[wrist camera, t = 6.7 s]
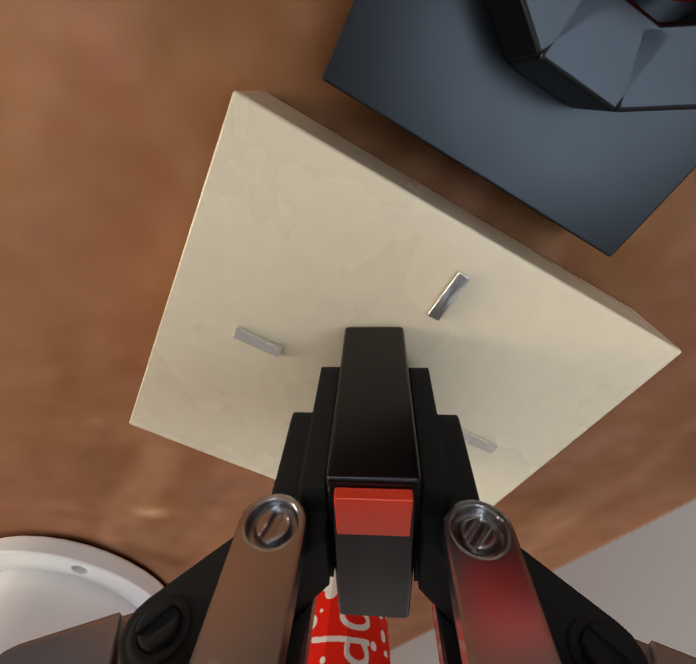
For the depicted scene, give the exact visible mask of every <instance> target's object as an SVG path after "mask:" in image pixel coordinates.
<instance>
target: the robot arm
mask: <svg viewBox="0 0 696 664" xmlns="http://www.w3.org/2000/svg"><path fill="white" fill-rule="evenodd" d="M408 370H409V378H410V387H411V395H412V404H413V412H414V421H415V429H416V438H417V446H418V455H419V463H420V471H421V490H420V501H419V512H418V522H417V533H416V544H415V555H414V565H413V569H414V581H418V585H419V589H420V590H421V591H422V592H423V593H424V594H425V595H426V596H427V597H428V598H429V599H430V600H431V601H432V611H433V619H434V626H435V633H436V639H437V647H438V654H439V661H440V664H696V658H695V657H692V656H690V655H687V654H685V653H682V652H680V651H677V650H675V649H672V648H669V647H667V646H664V645H662V644H659V643H657V642H654V641H651V642H650V643H649V644H646V643H643V642H640V641H638V640H636V639H634V638H633V636H632V635H631V634H630V633H629V632H628V631H627V630H626V629H624V628H623V627H622V626H621V625H620V624H619V623H618V622H616V621H615V620H614V619H613V618H611V617H610V616H609V615H607V614H606V613H605V612H603V611H602V610H601V609H599V608H598V607H597V606H596V605H594V604H593V603H592V602H591V601H589V600H588V599H587V598H585V597H584V596H583V595H581V594H580V593H579V592H577V591H576V590H575V589H574V588H572V587H571V586H570V585H568V584H567V583H566V582H564V581H563V580H562V579H561V578H559V577H558V576H557V575H555V574H554V573H553V572H551V571H550V570H549V569H548V568H546V567H545V566H544V565H542V564H541V563H540V562H538V561H537V560H536V559H535V558H533V557H532V556H531V555H529V554H528V553H527V552H525V551H524V550H523V549H521V548H520V545H519V542H518V539H517V536H516V533H515V531H514V529H513V527H512V525H511V523H510V521H509V520H508V518H507V517H506V516H505V515H504V514H503V513H502V512H501V511H500V510H498V509H497V508H495V507H494V506H492V505H491V504H488V503H485V502H483V501H480V499H479V495H478V491H477V487H476V483H475V479H474V475H473V471H472V468H471V464H470V460H469V456H468V452H467V448H466V444H465V440H464V436H463V432H462V428H461V424H460V421H459V418H458V416H457V415H439V414H437V410H436V405H435V400H434V395H433V389H432V384H431V379H430V373H429V369H428V368H408ZM339 373H340V367H322V368H321V372H320V377H319V382H318V388H317V393H316V398H315V403H314V408H313V412H294V413H293V415H292V418H291V421H290V425H289V429H288V433H287V437H286V441H285V445H284V449H283V453H282V457H281V461H280V464H279V468H278V472H277V476H276V480H275V484H274V488H273V492H272V494H270V495H267V496H264V497H261V498H259V499H258V500H256V501H255V502H253V503H252V504H251V505H250V506H249V507H248V508H247V509H246V510H245V511H244V513H243V515H242V517H241V519H240V521H239V524H238V526H237V529H236V532H235V535H234V537H233V538H232V539H230V540H229V541H227V542H226V543H225V544H223V545H222V546H221V547H219V548H218V549H216V550H215V551H214V552H212V553H211V554H209V555H208V556H207V557H205V558H204V559H203V560H201V561H200V562H198V563H197V564H196V565H194V566H193V567H191V568H190V569H189V570H187V571H186V572H185V573H183V574H182V575H180V576H179V577H178V578H176V579H175V580H173V581H172V582H171V583H169V584H168V585H167V586H165V587H164V586H163V585H162V584H161V583H160V582H159V581H158V580H157V579H156V578H155V577H153V576H152V575H151V574H149V573H148V572H147V571H145V570H144V569H142V568H140V567H139V566H137V565H135V564H133V563H132V562H130V561H128V560H126V559H124V558H122V557H119V556H117V555H115V554H113V553H110V552H108V551H105V550H102V549H99V548H96V547H93V546H90V545H87V544H83V543H79V542H75V541H71V540H67V539H60V538H54V537H47V536H28V535H22V536H11V537H4V538H0V664H307V663H308V656H309V649H310V642H311V636H312V629H313V622H314V615H315V608H316V601H317V596H318V595H319V594H320V593H321V592H322V591H323V590H324V589H325V588H326V587H327V586H328V585H329V584H330V577H334V569H335V563H334V553H333V542H332V532H331V522H330V511H329V501H328V491H327V481H326V475H327V467H328V459H329V451H330V443H331V436H332V428H333V420H334V412H335V404H336V396H337V389H338V381H339Z"/></svg>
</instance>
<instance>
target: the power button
mask: <svg viewBox="0 0 696 664" xmlns="http://www.w3.org/2000/svg"><path fill="white" fill-rule="evenodd" d="M672 1H677V2H694V1H696V0H672Z"/></svg>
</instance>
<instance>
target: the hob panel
mask: <svg viewBox="0 0 696 664" xmlns="http://www.w3.org/2000/svg"><path fill="white" fill-rule="evenodd" d="M347 327H402V328H403V330H404V336H405V345H406V353H407V362H408V368H428V369H429V373H430V379H431V384H432V389H433V395H434V400H435V405H436V410H437V414H439V415H457V416H458V418H459V421H460V424H461V428H462V432H463V436H464V440H465V444H466V448H467V452H468V456H469V460H470V464H471V468H472V471H473V475H474V479H475V483H476V487H477V491H478V495H479V499H480V501H483V502H485V503H488V504H491V505H492V506H494V505H495V504H496V503H498V502H499V501H500V500H501V499H502V498H504V497H505V496H506V495H507V494H509V493H510V492H511V491H512V490H514V489H515V488H516V487H517V486H518V485H520V484H521V483H522V482H523V481H525V480H526V479H527V478H528V477H530V476H531V475H532V474H533V473H534V472H536V471H537V470H538V469H539V468H541V467H542V466H543V465H544V464H545V463H547V462H548V461H549V460H550V459H552V458H553V457H554V456H555V455H557V454H558V453H559V452H560V451H561V450H563V449H564V448H565V447H566V446H568V445H569V444H570V443H571V442H573V441H574V440H575V439H576V438H577V437H579V436H580V435H581V434H582V433H584V432H585V431H586V430H587V429H588V428H590V427H591V426H592V425H593V424H595V423H596V422H597V421H598V420H600V419H601V418H602V417H603V416H604V415H606V414H607V413H608V412H609V411H611V410H612V409H613V408H614V407H616V406H617V405H618V404H619V403H620V402H622V401H623V400H624V399H625V398H627V397H628V396H629V395H630V394H631V393H633V392H634V391H635V390H636V389H638V388H639V387H640V386H641V385H643V384H644V383H645V382H646V381H647V380H649V379H650V378H651V377H652V376H654V375H655V374H656V373H657V372H659V371H660V370H661V369H662V368H663V367H665V366H666V365H667V364H668V363H670V362H671V361H672V360H673V359H674V358H676V357H677V356H678V355H679V354H681V350H680V349H679V348H678V347H676V346H675V345H674V344H673V343H672V342H671V341H669V340H668V339H667V338H666V337H665V336H663V335H662V334H661V333H660V332H659V331H658V330H656V329H655V328H654V327H653V326H652V325H651V324H649V323H648V322H647V321H646V320H645V319H643V318H642V317H641V316H640V315H639V314H638V313H636V312H635V311H634V310H633V309H631V308H630V307H628V306H626V305H625V304H623V303H621V302H620V301H618V300H616V299H615V298H613V297H611V296H609V295H608V294H606V293H604V292H603V291H601V290H599V289H598V288H596V287H594V286H593V285H591V284H589V283H588V282H586V281H584V280H582V279H581V278H579V277H577V276H576V275H574V274H572V273H571V272H569V271H567V270H566V269H564V268H562V267H561V266H559V265H557V264H555V263H554V262H552V261H550V260H549V259H547V258H545V257H544V256H542V255H540V254H539V253H537V252H535V251H534V250H532V249H530V248H528V247H527V246H525V245H523V244H522V243H520V242H518V241H517V240H515V239H513V238H512V237H510V236H508V235H507V234H505V233H503V232H501V231H500V230H498V229H496V228H495V227H493V226H491V225H490V224H488V223H486V222H485V221H483V220H481V219H480V218H478V217H476V216H474V215H473V214H471V213H469V212H468V211H466V210H464V209H463V208H461V207H459V206H458V205H456V204H454V203H453V202H451V201H449V200H447V199H446V198H444V197H442V196H441V195H439V194H437V193H436V192H434V191H432V190H431V189H429V188H427V187H426V186H424V185H422V184H420V183H419V182H417V181H415V180H414V179H412V178H410V177H409V176H407V175H405V174H404V173H402V172H400V171H399V170H397V169H395V168H393V167H392V166H390V165H388V164H387V163H385V162H383V161H382V160H380V159H378V158H377V157H375V156H373V155H372V154H370V153H368V152H366V151H365V150H363V149H361V148H360V147H358V146H356V145H355V144H353V143H351V142H350V141H348V140H346V139H345V138H343V137H341V136H339V135H338V134H336V133H334V132H333V131H331V130H329V129H328V128H326V127H324V126H323V125H321V124H319V123H318V122H316V121H314V120H312V119H311V118H309V117H307V116H306V115H304V114H302V113H301V112H299V111H297V110H296V109H294V108H292V107H291V106H289V105H287V104H285V103H284V102H282V101H280V100H279V99H277V98H275V97H274V96H272V95H270V94H269V93H267V92H265V91H234V92H233V94H232V97H231V100H230V103H229V106H228V110H227V113H226V116H225V119H224V122H223V126H222V129H221V132H220V135H219V138H218V141H217V145H216V148H215V151H214V154H213V157H212V161H211V164H210V167H209V170H208V173H207V177H206V180H205V183H204V186H203V189H202V192H201V196H200V199H199V202H198V205H197V208H196V212H195V215H194V218H193V221H192V224H191V227H190V231H189V234H188V237H187V240H186V243H185V247H184V250H183V253H182V256H181V259H180V262H179V266H178V269H177V272H176V275H175V278H174V282H173V285H172V288H171V291H170V294H169V298H168V301H167V304H166V307H165V310H164V313H163V317H162V320H161V323H160V326H159V329H158V333H157V336H156V339H155V342H154V345H153V348H152V352H151V355H150V358H149V361H148V364H147V368H146V371H145V374H144V377H143V380H142V383H141V387H140V390H139V393H138V396H137V399H136V403H135V406H134V409H133V412H132V415H131V419H130V422H129V423H130V424H131V425H134V426H136V427H139V428H141V429H144V430H147V431H149V432H152V433H155V434H157V435H160V436H162V437H165V438H168V439H170V440H173V441H175V442H178V443H181V444H183V445H186V446H188V447H191V448H194V449H196V450H199V451H202V452H204V453H207V454H209V455H212V456H215V457H217V458H220V459H222V460H225V461H228V462H230V463H233V464H236V465H238V466H241V467H243V468H246V469H249V470H251V471H254V472H256V473H259V474H262V475H264V476H267V477H270V478H272V479H275V480H276V476H277V472H278V468H279V464H280V461H281V457H282V453H283V449H284V445H285V441H286V437H287V433H288V429H289V425H290V421H291V418H292V415H293V413H294V412H313V408H314V403H315V398H316V393H317V388H318V382H319V377H320V372H321V368H322V367H340V365H341V357H342V349H343V342H344V334H345V329H346V328H347Z"/></svg>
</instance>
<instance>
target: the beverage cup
mask: <svg viewBox="0 0 696 664" xmlns="http://www.w3.org/2000/svg"><path fill="white" fill-rule="evenodd" d="M307 664H390V652H389V638H388V624H387V617H381V616H362V615H343V614H341V613H340V611H339V604H338V594H337V584H336V573H335V569H334V577H330V584H329V585H328V586H327V587H326V588H325V589H324V590H323V591H322V592H321V593H320V594H319V595H318V596H317V601H316V608H315V615H314V622H313V629H312V636H311V642H310V649H309V656H308V663H307Z"/></svg>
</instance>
